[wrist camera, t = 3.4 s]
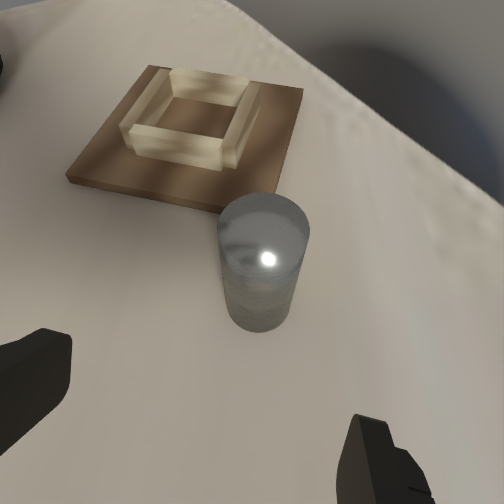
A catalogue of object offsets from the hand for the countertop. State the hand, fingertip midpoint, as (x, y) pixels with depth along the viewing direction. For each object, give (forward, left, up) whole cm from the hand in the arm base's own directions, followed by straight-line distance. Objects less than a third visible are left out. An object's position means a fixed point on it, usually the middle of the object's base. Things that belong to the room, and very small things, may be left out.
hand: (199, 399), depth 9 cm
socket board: (-10, +24, -12) cm, 29 cm away
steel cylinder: (0, +8, -12) cm, 15 cm away
